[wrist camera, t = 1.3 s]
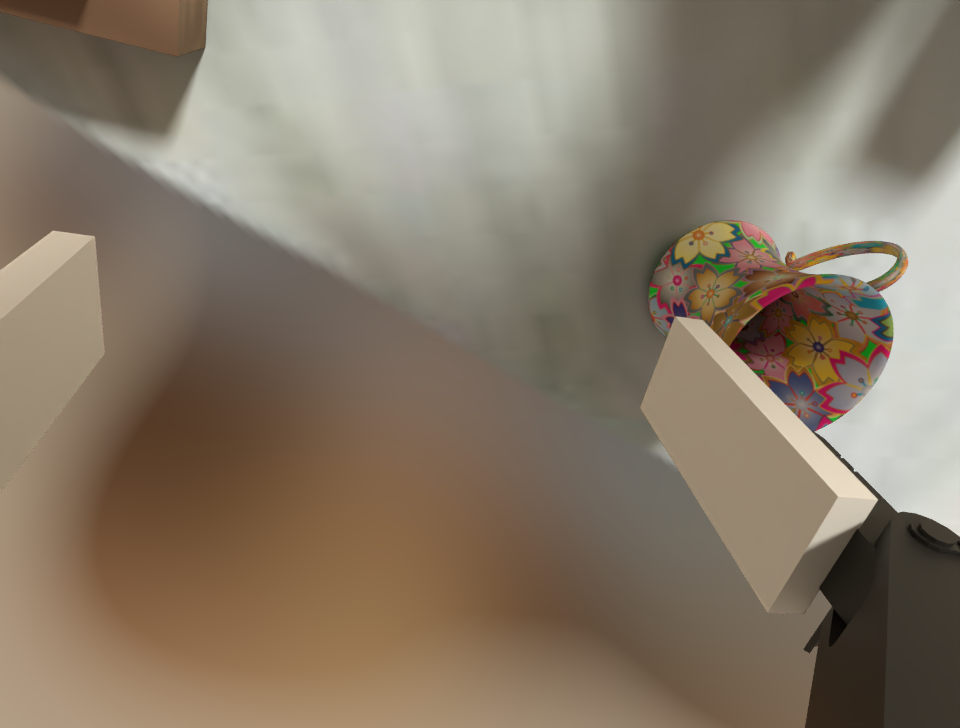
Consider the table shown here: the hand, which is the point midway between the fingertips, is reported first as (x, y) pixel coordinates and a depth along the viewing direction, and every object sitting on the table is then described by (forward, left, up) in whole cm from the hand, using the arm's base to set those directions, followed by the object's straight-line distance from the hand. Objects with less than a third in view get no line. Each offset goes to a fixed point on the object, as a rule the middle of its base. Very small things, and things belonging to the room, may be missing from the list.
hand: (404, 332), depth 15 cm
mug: (+3, +22, -22) cm, 31 cm away
